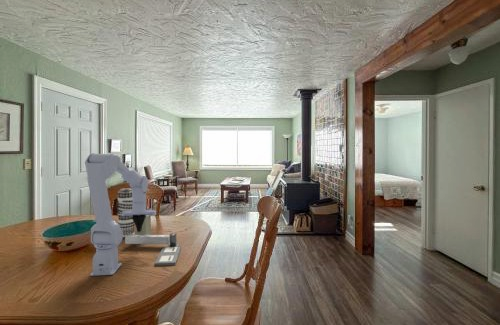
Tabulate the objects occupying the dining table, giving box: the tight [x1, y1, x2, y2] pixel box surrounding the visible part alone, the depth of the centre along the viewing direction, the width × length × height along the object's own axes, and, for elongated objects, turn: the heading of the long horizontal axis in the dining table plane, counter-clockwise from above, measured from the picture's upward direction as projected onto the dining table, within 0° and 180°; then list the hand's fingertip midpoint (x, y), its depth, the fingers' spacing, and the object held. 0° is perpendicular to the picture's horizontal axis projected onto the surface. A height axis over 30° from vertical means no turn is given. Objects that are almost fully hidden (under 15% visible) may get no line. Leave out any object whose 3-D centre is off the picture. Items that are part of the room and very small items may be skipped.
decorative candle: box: [115, 187, 136, 238], centre depth 143 cm, size 9×9×25 cm
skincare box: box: [135, 215, 152, 235], centre depth 137 cm, size 6×4×12 cm
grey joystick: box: [166, 233, 180, 247], centre depth 125 cm, size 5×5×6 cm
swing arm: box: [124, 234, 170, 245], centre depth 125 cm, size 20×3×3 cm, turn 90°
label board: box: [153, 246, 182, 267], centre depth 114 cm, size 18×8×1 cm, turn 8°
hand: (139, 231), depth 122 cm, fingers closed
